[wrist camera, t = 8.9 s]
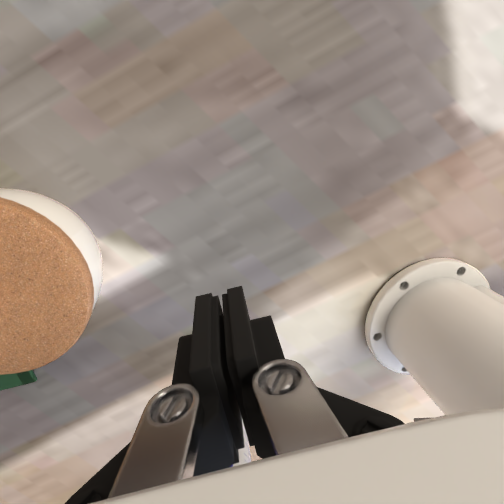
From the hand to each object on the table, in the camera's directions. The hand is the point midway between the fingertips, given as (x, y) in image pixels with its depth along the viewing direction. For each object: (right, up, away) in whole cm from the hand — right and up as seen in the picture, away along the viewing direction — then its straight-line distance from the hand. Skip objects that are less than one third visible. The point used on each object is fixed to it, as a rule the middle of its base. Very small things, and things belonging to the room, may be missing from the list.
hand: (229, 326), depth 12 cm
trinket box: (-15, +3, +13) cm, 20 cm away
